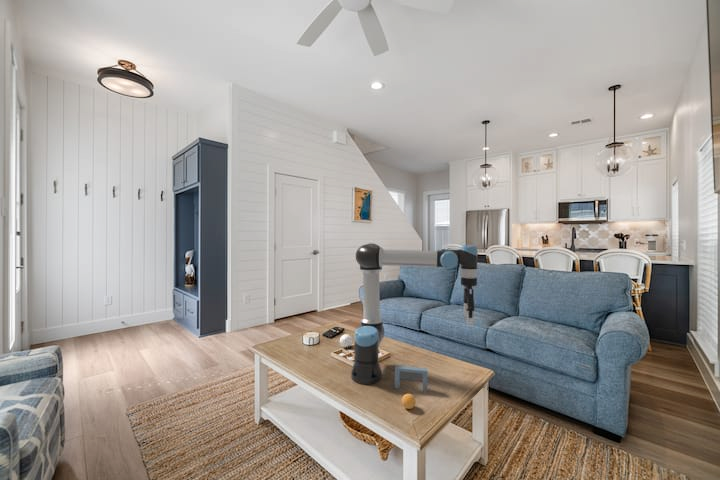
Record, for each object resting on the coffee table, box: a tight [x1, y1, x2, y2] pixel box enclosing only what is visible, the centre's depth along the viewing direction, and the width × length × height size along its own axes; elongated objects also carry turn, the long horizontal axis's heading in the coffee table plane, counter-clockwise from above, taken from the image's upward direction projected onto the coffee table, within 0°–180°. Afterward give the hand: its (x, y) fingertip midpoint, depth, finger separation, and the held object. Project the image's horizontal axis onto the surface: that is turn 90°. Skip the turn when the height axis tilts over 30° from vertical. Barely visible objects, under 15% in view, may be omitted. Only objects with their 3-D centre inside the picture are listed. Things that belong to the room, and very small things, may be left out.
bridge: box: [394, 364, 429, 392], centre depth 141 cm, size 3×14×9 cm, turn 77°
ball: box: [401, 393, 416, 410], centre depth 125 cm, size 6×6×6 cm
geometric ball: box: [339, 333, 353, 348], centre depth 190 cm, size 8×8×8 cm
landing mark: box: [400, 371, 423, 382], centre depth 155 cm, size 13×13×1 cm
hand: (468, 320), depth 152 cm, fingers open, 13 cm apart
